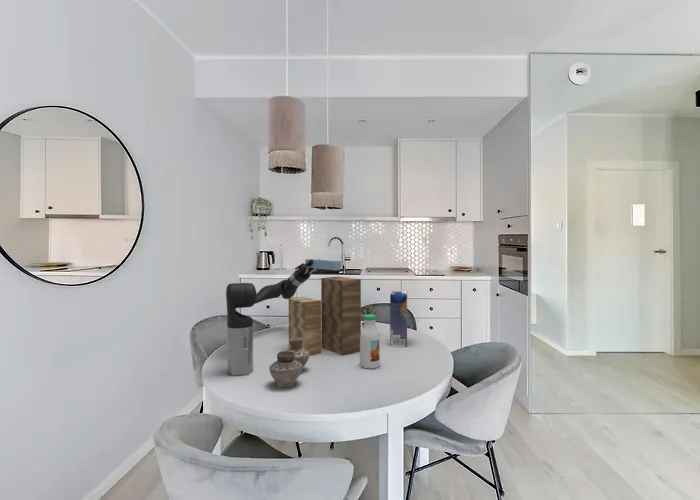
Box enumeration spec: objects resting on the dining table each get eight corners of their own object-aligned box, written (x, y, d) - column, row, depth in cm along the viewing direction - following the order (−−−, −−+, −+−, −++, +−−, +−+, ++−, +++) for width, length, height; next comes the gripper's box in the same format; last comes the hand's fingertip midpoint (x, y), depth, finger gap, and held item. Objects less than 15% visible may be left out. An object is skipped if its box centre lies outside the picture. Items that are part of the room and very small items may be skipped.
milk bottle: (363, 369, 148) (363, 317, 147) (357, 363, 155) (357, 313, 155) (382, 368, 150) (382, 316, 150) (375, 362, 158) (375, 312, 157)
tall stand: (360, 351, 172) (360, 279, 172) (343, 355, 166) (342, 280, 165) (338, 343, 185) (338, 276, 184) (321, 347, 179) (321, 277, 178)
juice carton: (406, 347, 179) (406, 295, 178) (390, 346, 180) (390, 294, 180) (407, 340, 191) (407, 291, 190) (391, 339, 192) (391, 291, 191)
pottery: (313, 366, 152) (313, 336, 152) (298, 391, 127) (298, 355, 127) (284, 365, 153) (284, 335, 153) (264, 390, 129) (264, 354, 128)
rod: (341, 269, 178) (341, 261, 177) (334, 270, 175) (334, 261, 175) (311, 266, 196) (311, 258, 196) (305, 267, 194) (305, 259, 193)
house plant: (350, 332, 207) (349, 302, 207) (374, 330, 211) (374, 300, 211) (358, 339, 194) (358, 306, 193) (384, 337, 198) (384, 304, 197)
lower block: (321, 353, 170) (321, 300, 169) (305, 356, 165) (305, 302, 164) (303, 346, 181) (303, 296, 180) (288, 349, 176) (288, 298, 175)
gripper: (286, 270, 198) (301, 254, 186) (309, 269, 207) (326, 253, 195) (289, 283, 195) (306, 268, 184) (313, 281, 204) (330, 267, 193)
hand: (316, 260), depth 190 cm, fingers closed on rod, 4 cm apart
